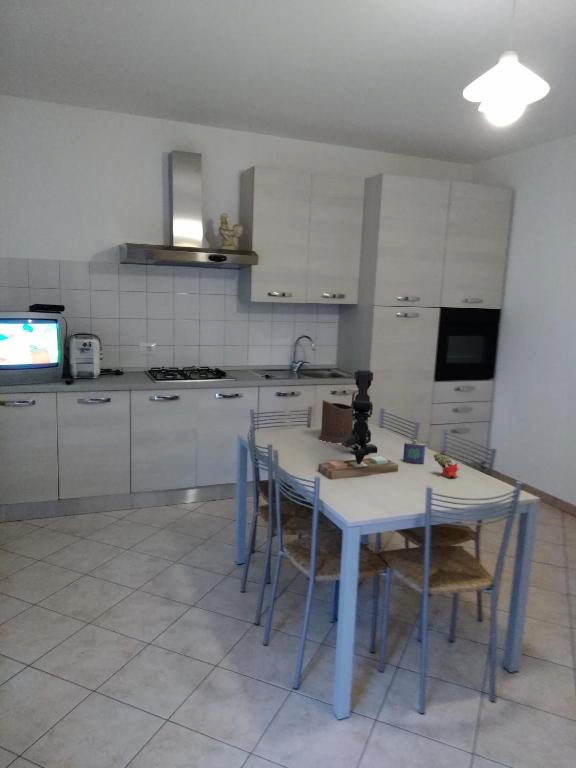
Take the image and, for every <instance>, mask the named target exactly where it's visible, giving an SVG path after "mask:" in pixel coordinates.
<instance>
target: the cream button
mask: <svg viewBox="0 0 576 768" xmlns="http://www.w3.org/2000/svg"><path fill="white" fill-rule="evenodd" d="M350 464H351V465H353V466H355V467H362V466H368V465H366V464H365V463H363V462H361V464H357V462H351V463H350Z"/></svg>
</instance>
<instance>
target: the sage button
mask: <svg viewBox="0 0 576 768" xmlns="http://www.w3.org/2000/svg"><path fill="white" fill-rule="evenodd" d="M383 457H384V456H381V455H379V456H370V457H369V458H370V462H372V463H374V464H376V465H379V464H388V460H389V459H388V458H386V457H384V458H383ZM385 458H386V459H385ZM387 459H388V460H387Z"/></svg>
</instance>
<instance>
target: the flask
mask: <svg viewBox="0 0 576 768" xmlns="http://www.w3.org/2000/svg"><path fill="white" fill-rule="evenodd" d="M425 452H426V444H425V443H418V441H417V439H413V441H406V442H404V446H403V455H402V461H403V463H405V462H406V464H415V465H424V464H425V457H426V456H425V455H426V453H425Z"/></svg>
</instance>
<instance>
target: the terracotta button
mask: <svg viewBox="0 0 576 768" xmlns="http://www.w3.org/2000/svg"><path fill="white" fill-rule="evenodd" d="M342 461H343V460H335V461H333V460H332V461H328V463H329V466H330V467H331V468H333V469H335V470H337V469H345V468H347V464H346V463H344V462H342Z"/></svg>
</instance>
